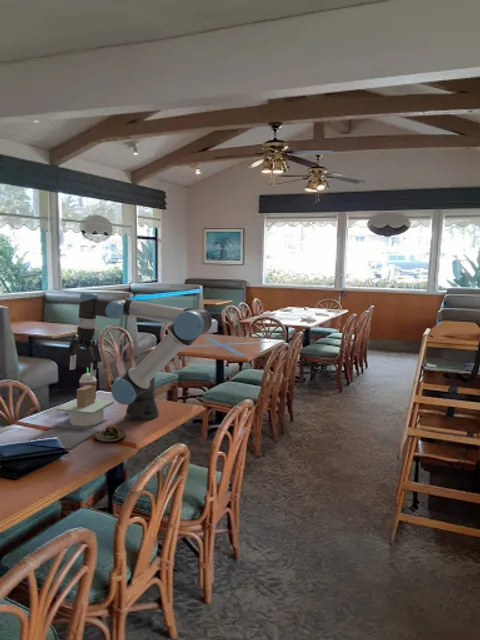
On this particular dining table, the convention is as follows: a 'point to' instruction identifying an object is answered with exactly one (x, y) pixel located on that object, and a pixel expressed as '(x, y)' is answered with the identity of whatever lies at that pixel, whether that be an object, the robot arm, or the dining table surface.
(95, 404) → the lid
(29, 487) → the dining table surface
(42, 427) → the dining table surface
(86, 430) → the mat
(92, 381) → the smoothie
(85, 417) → the bowl
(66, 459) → the dining table surface
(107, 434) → the burger
